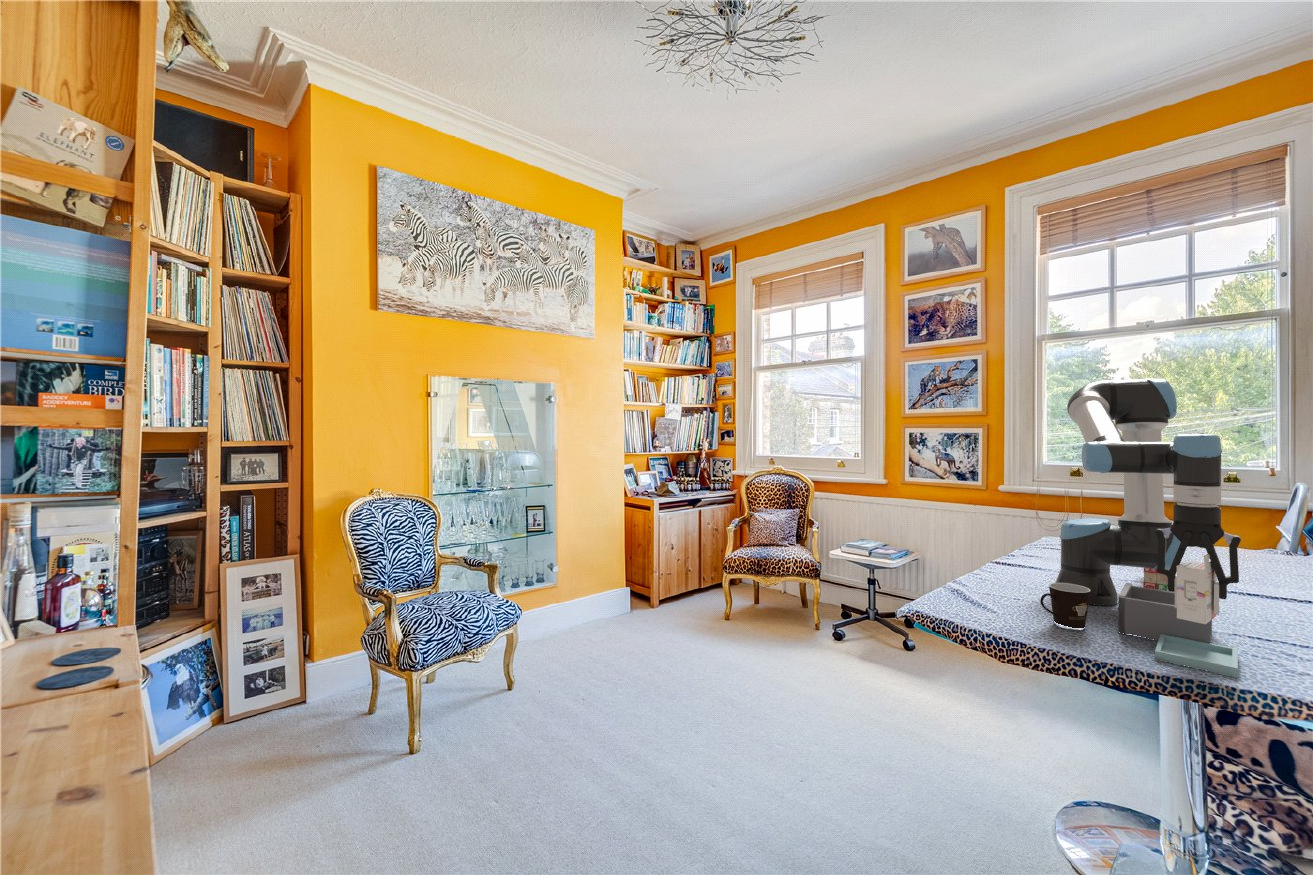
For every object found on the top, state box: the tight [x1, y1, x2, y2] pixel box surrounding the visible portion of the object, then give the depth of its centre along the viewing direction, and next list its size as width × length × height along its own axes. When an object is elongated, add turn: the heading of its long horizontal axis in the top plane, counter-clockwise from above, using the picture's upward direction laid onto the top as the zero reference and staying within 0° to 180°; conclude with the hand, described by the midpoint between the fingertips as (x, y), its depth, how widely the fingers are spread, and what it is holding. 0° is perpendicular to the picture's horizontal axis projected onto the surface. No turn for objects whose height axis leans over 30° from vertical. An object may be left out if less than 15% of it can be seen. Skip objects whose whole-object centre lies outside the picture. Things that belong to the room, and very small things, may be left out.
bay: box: [1117, 582, 1213, 644], centre depth 137 cm, size 16×14×10 cm
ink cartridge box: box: [1176, 553, 1218, 624], centre depth 122 cm, size 9×5×15 cm, turn 124°
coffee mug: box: [1039, 582, 1091, 628], centre depth 144 cm, size 12×9×10 cm
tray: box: [1154, 634, 1239, 679], centre depth 123 cm, size 13×14×2 cm
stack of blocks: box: [1142, 568, 1170, 591], centre depth 176 cm, size 21×6×12 cm, turn 138°
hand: (1196, 609), depth 122 cm, fingers closed on ink cartridge box, 5 cm apart
